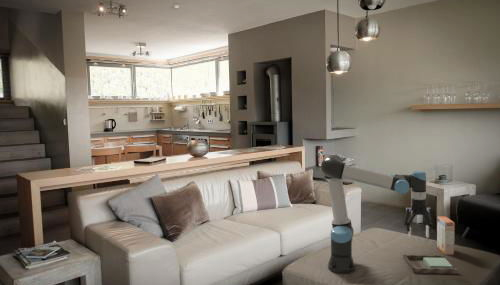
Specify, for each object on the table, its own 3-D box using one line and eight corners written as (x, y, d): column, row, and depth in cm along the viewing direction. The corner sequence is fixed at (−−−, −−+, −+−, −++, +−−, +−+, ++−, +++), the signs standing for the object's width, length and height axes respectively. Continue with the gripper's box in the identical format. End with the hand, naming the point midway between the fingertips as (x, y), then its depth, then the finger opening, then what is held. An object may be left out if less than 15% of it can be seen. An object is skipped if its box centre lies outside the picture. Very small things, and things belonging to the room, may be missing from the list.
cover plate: (430, 270, 218) (430, 265, 218) (423, 261, 230) (423, 257, 230) (452, 270, 216) (452, 266, 216) (444, 261, 228) (444, 257, 228)
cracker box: (454, 255, 239) (455, 222, 237) (444, 255, 240) (444, 222, 238) (446, 247, 253) (446, 216, 251) (436, 247, 254) (436, 215, 252)
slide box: (413, 273, 215) (413, 268, 215) (403, 259, 235) (403, 254, 235) (457, 274, 212) (457, 269, 212) (443, 260, 232) (443, 255, 232)
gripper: (400, 200, 219) (400, 239, 221) (441, 200, 216) (440, 239, 218) (397, 197, 226) (397, 234, 228) (436, 196, 223) (436, 235, 225)
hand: (418, 237), depth 223 cm, fingers open, 9 cm apart
